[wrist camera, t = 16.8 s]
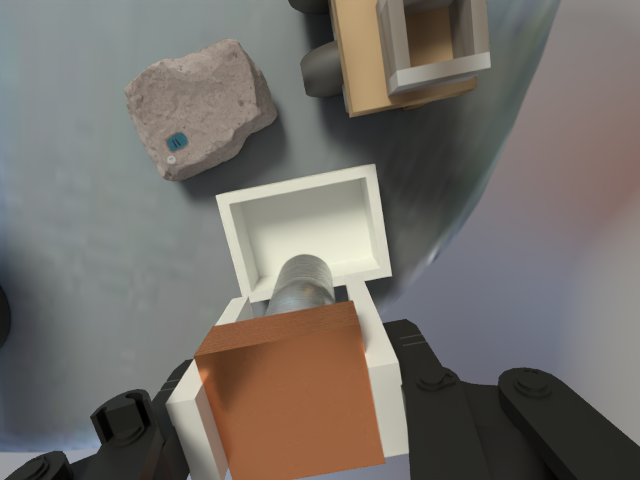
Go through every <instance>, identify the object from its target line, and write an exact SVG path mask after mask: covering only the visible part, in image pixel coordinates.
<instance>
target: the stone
mask: <svg viewBox="0 0 640 480" xmlns="http://www.w3.org/2000/svg"><path fill="white" fill-rule="evenodd" d="M124 92H125V94H126V97H127V99H126V103H127V107H128V112H129V115H130V117H131V119H132V120H133V122H134V125H135V127H136V129H137V131H138V134H139V137H140V139H141V141H142V143H143V145H144V146H145V148H146V150H147V152H148V154H149V156H150V157H151V159H152V160H153V162H154V163H155V164H156V165H157V169H158V171H159V173H160V175H161V176H162V177H163V178H164V179H166V180H169V181H179V180H184V179H187V178H190V177H192V176H195V175H197V174H199V173H200V172H202V171H204V170H207V169H210V168H212V167H214V166H217V165H218V164H220V163H221V162H225V161H227V160H229V159H231V158H233V157H234V156H236V155H237V154H238V153H239V151H240V149H241V148H242V146H243V144H244V142H245V140H246V138H247V137H248V136H249V135H250V134H251V133H254V132H257V131H259V130H261V129H262V128H264V127H265V126H268V125H270V124H272V122H273V121H274V120H275V119H276V117H277V110H276V108H275V106H274V103H273V101H272V97H271V93H270V91H269V88H268V86H267V82H266V80H265V78H264V76H263V73H262V71H261V70H260V69H259V68H258V67H257V66H256V65H255V64H254V62H253V61H252V60H251V58H250V57H249V56H248V54H247V53H246V52H245V51H244V50H243V48H242V47H241V45H240V44H239V42H238V41H237V40H235V39H224V40H221V41H219V42H217V43H215V44H214V45H212V46H208V47H205V48H203V49H201V50H200V51H199V53H190V54H189V55H186V56H185V57H184V58H181V59H170V58H167V59H163V60H161V61H159V62H157V63H154V64H152V65H150V66H149V67H148V68H147V69H145V70H144V71H143V72H142V73H141V74H140V75H138V76H137V77H136V78H135V79H134V80H133V81H132V82H130V83H129V84H128V86H127V87H126V88H125V89H124Z"/></svg>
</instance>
